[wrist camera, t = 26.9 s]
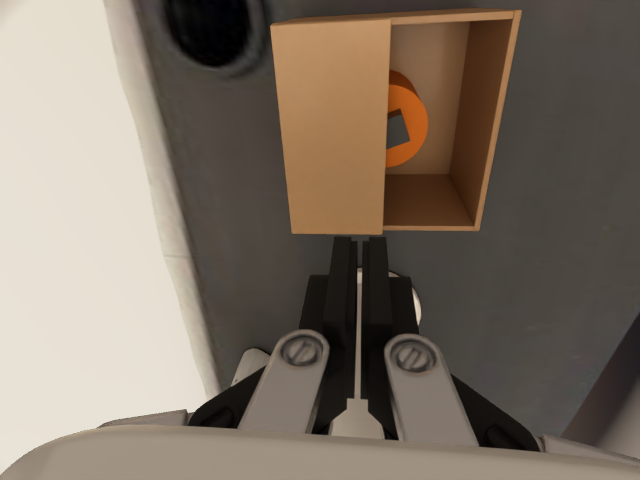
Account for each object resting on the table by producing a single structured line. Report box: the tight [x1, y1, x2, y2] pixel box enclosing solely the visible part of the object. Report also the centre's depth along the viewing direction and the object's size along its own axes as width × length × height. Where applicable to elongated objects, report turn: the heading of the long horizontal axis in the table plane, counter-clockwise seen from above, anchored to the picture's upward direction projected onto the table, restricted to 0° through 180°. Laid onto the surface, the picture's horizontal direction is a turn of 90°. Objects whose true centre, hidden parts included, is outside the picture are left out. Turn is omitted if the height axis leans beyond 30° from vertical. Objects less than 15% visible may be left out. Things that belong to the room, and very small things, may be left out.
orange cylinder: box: [385, 70, 428, 168], centre depth 30 cm, size 6×6×9 cm
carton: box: [272, 8, 522, 231], centre depth 29 cm, size 14×14×10 cm
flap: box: [270, 19, 391, 234], centre depth 25 cm, size 14×7×1 cm, turn 3°
